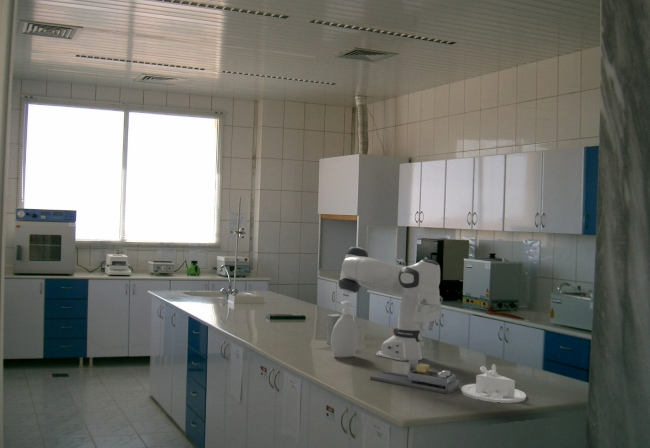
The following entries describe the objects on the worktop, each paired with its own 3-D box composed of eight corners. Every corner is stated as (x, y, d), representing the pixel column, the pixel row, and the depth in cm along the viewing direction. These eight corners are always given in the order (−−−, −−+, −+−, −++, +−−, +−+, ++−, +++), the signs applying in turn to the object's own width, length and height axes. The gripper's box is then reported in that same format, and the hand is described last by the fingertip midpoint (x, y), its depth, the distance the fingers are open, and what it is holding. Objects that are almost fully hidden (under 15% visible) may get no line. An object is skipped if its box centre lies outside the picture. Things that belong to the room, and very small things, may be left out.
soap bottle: (351, 354, 325) (354, 299, 324) (360, 357, 317) (363, 301, 317) (325, 355, 318) (328, 299, 318) (333, 359, 311) (336, 301, 311)
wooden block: (425, 377, 266) (425, 366, 266) (416, 375, 268) (416, 364, 268) (429, 375, 270) (429, 364, 270) (419, 374, 272) (420, 363, 272)
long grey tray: (406, 383, 267) (407, 361, 267) (416, 379, 276) (417, 357, 276) (446, 390, 259) (447, 367, 258) (454, 385, 267) (455, 363, 267)
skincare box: (343, 346, 344) (345, 315, 344) (331, 346, 341) (332, 315, 341) (337, 343, 352) (338, 313, 352) (325, 343, 349) (326, 313, 349)
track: (370, 379, 274) (370, 372, 274) (383, 374, 285) (383, 367, 285) (448, 393, 257) (448, 386, 257) (458, 387, 267) (459, 380, 267)
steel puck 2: (440, 378, 266) (440, 371, 266) (443, 377, 269) (443, 369, 269) (448, 380, 264) (448, 372, 264) (451, 378, 267) (451, 371, 267)
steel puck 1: (438, 381, 261) (438, 373, 261) (436, 379, 264) (437, 371, 264) (446, 381, 261) (446, 374, 261) (445, 379, 264) (445, 372, 264)
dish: (448, 392, 260) (449, 364, 260) (483, 383, 278) (484, 357, 278) (504, 407, 243) (505, 376, 243) (537, 397, 260) (538, 368, 260)
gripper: (426, 301, 262) (424, 336, 262) (443, 297, 279) (442, 330, 280) (411, 300, 265) (409, 334, 265) (429, 296, 283) (428, 328, 283)
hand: (426, 332), depth 272 cm, fingers open, 8 cm apart
